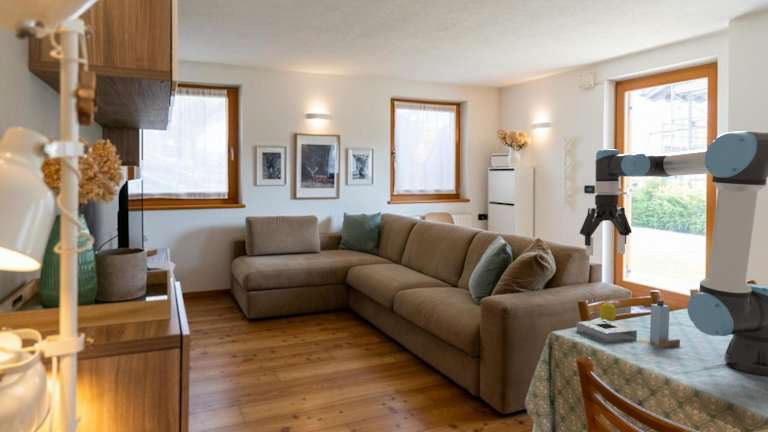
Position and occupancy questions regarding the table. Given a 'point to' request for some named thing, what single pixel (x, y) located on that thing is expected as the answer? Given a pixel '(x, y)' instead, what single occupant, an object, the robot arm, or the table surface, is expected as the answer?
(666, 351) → the table surface
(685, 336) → the table surface
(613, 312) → the lemon
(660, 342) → the holster
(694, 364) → the table surface
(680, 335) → the table surface
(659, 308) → the grey square bottle
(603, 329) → the panel
